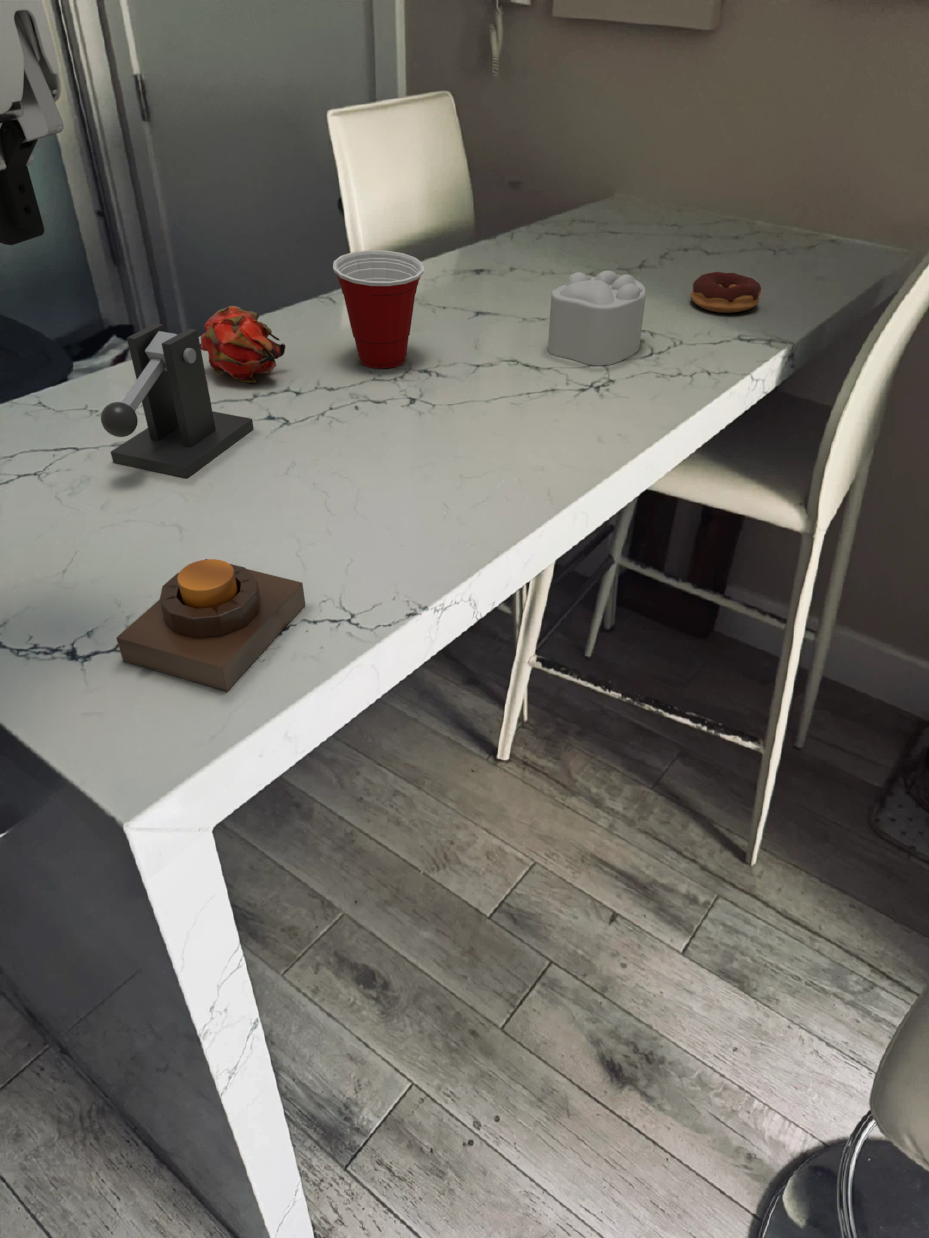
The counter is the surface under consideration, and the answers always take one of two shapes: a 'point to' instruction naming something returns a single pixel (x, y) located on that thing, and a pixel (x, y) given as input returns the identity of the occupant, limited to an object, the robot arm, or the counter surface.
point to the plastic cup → (379, 302)
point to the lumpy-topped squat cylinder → (596, 318)
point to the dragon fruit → (240, 344)
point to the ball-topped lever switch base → (178, 411)
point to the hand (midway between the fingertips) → (17, 238)
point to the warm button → (207, 583)
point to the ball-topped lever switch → (136, 391)
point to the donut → (725, 292)
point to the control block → (212, 629)
